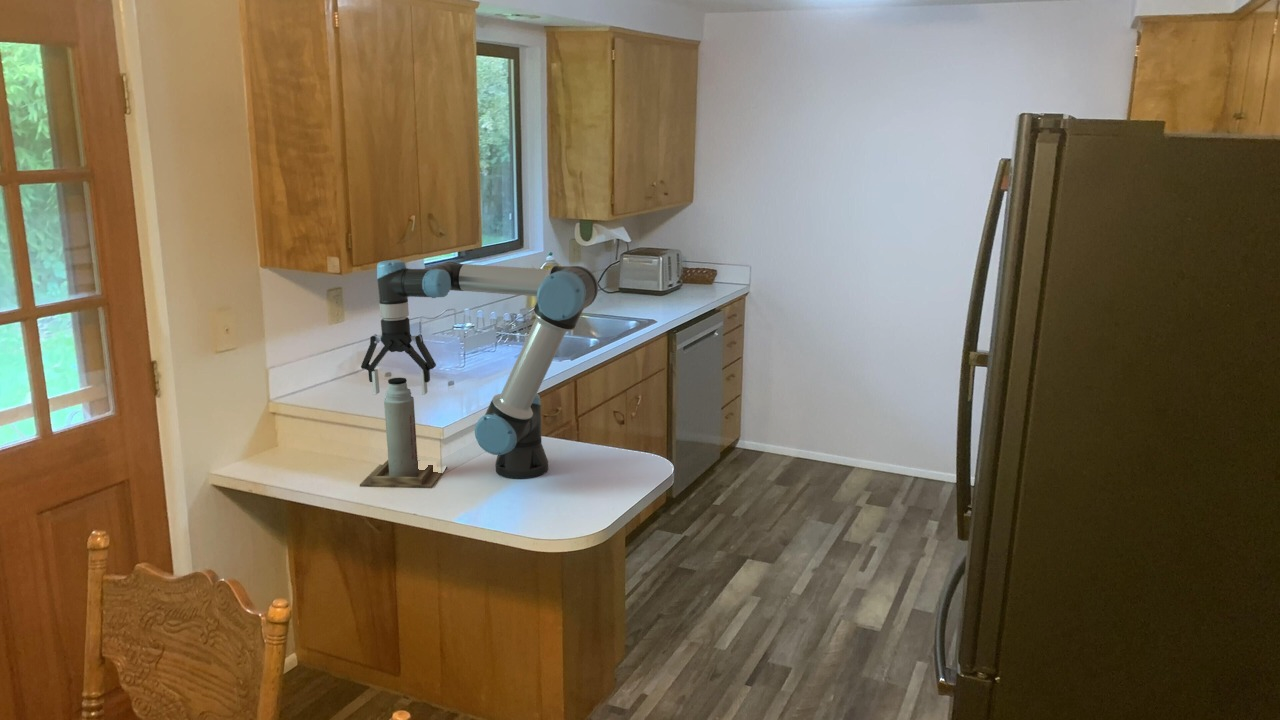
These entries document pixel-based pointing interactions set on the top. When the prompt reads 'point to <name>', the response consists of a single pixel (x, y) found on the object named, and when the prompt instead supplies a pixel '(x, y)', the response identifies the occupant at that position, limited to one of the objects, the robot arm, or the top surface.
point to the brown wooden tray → (401, 478)
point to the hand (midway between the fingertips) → (400, 393)
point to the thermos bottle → (400, 429)
